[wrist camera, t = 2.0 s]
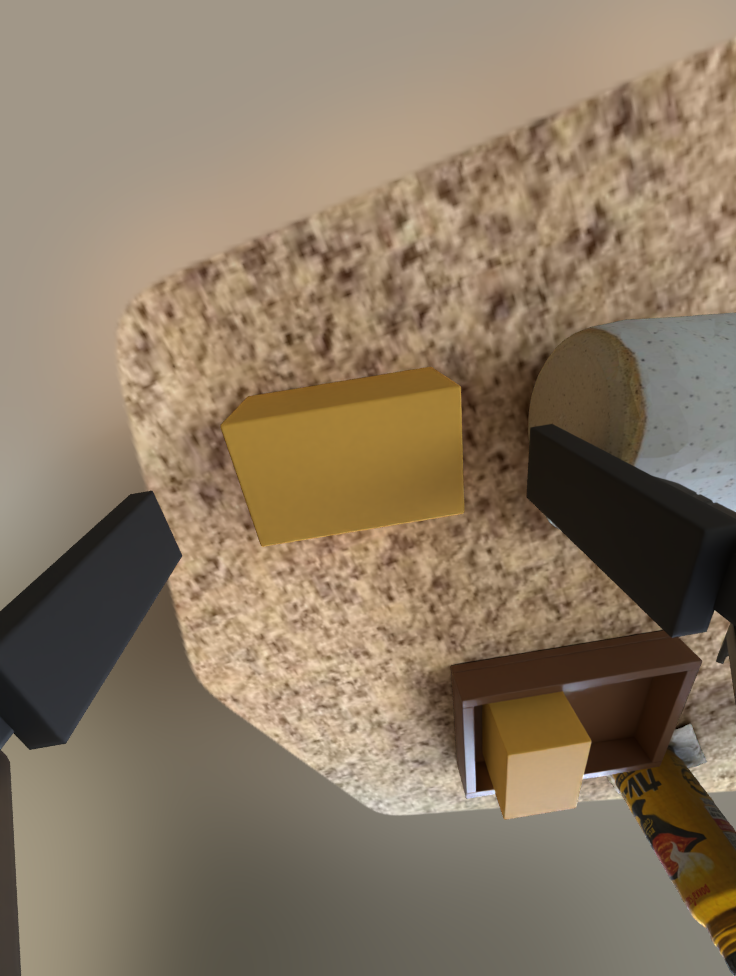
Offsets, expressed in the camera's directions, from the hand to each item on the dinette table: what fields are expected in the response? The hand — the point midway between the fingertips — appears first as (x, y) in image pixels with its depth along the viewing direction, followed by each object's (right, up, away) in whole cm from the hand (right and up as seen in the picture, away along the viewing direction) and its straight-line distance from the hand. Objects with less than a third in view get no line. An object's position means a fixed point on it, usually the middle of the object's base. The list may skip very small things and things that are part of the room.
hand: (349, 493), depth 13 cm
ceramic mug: (+12, +3, +6) cm, 14 cm away
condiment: (+26, -24, +21) cm, 42 cm away
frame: (+15, -16, +16) cm, 27 cm away
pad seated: (+12, -17, +15) cm, 26 cm away
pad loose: (0, +3, +5) cm, 5 cm away
